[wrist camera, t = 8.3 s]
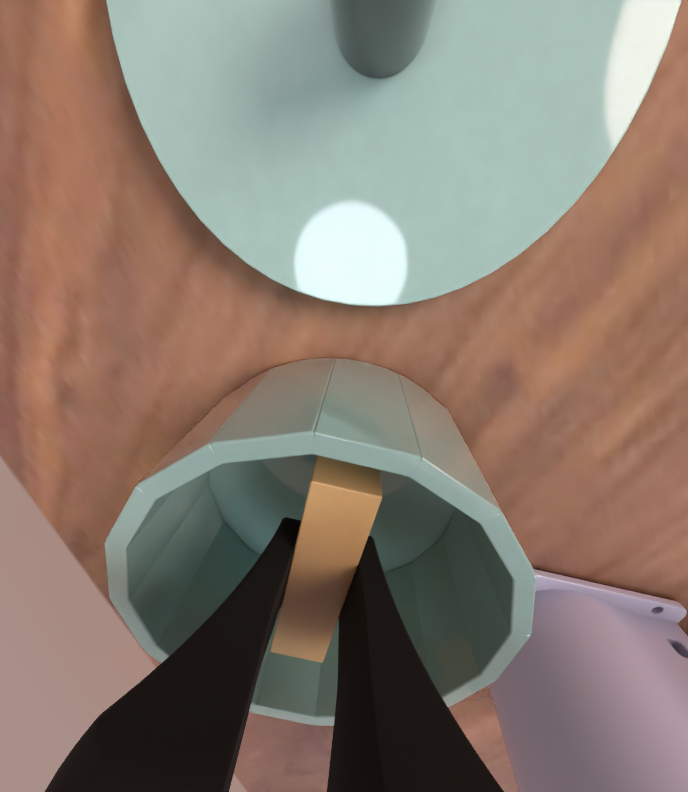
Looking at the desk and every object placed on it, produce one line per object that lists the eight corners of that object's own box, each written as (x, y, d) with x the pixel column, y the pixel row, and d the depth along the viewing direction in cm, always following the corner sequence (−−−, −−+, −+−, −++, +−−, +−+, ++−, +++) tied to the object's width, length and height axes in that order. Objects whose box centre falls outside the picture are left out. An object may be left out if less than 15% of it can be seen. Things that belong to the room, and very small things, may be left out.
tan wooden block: (323, 426, 11) (310, 481, 9) (378, 439, 11) (383, 497, 9) (287, 577, 15) (269, 652, 12) (330, 587, 15) (323, 663, 12)
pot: (518, 399, 13) (633, 506, 7) (418, 598, 18) (442, 752, 12) (211, 323, 12) (87, 377, 7) (196, 549, 17) (116, 686, 12)
